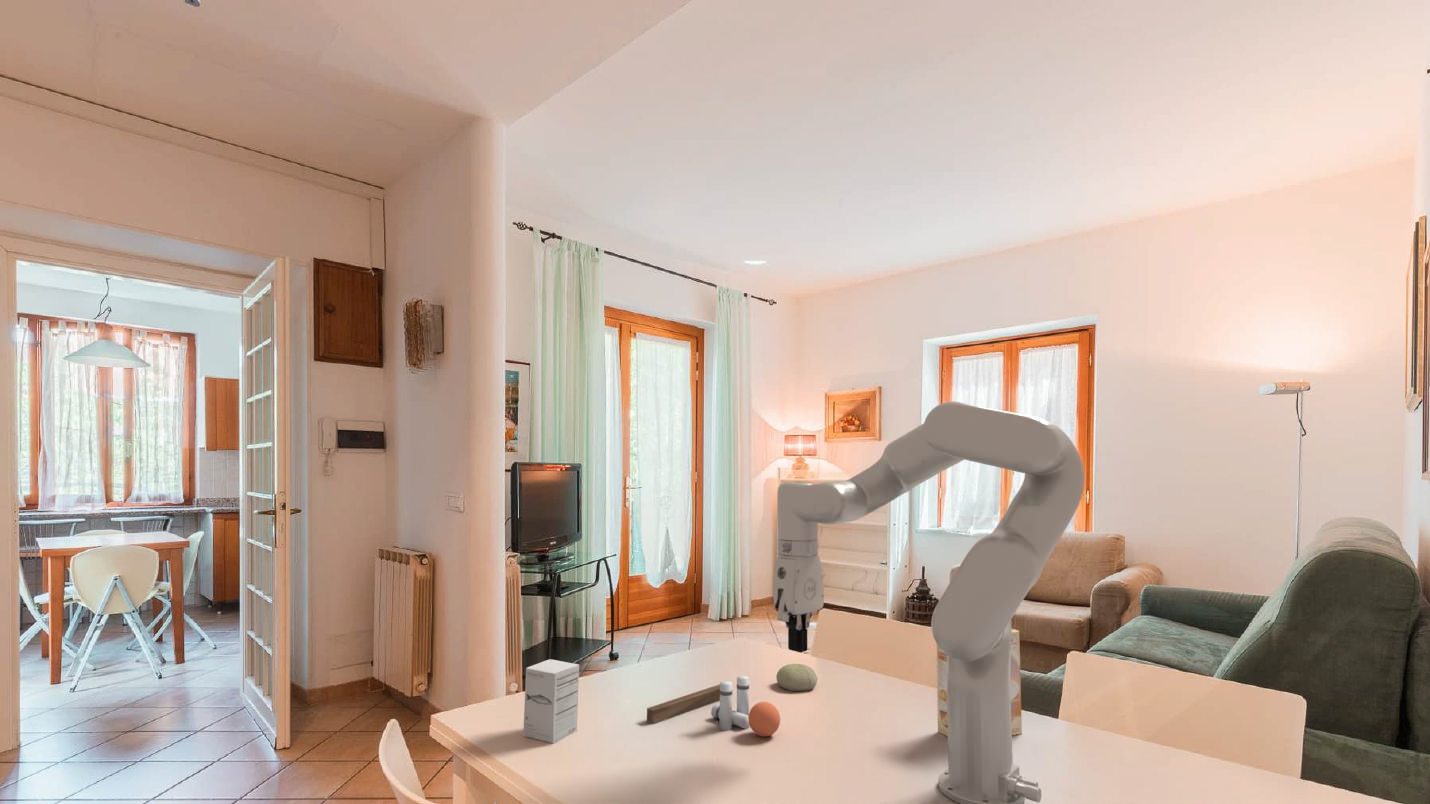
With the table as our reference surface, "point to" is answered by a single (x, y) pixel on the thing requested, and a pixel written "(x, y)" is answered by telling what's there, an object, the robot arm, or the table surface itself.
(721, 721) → the pin
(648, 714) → the back wall
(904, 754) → the table surface
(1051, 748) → the table surface
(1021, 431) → the robot arm
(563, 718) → the supplement box
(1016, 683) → the coffeecake box
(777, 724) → the ball
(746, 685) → the pin
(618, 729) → the table surface
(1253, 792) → the table surface
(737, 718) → the front pin
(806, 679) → the sea urchin shell
